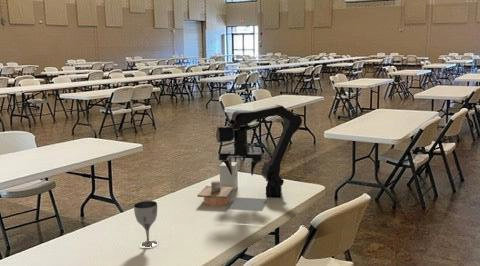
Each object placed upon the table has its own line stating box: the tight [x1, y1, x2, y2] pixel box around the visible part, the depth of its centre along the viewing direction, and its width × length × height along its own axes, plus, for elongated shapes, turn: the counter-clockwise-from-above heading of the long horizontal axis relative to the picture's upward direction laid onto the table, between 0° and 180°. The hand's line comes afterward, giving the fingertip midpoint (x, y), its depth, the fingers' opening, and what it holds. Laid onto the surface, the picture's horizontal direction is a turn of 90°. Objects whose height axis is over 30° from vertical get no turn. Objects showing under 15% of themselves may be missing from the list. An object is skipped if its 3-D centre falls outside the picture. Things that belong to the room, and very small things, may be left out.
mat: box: [226, 196, 269, 212], centre depth 201 cm, size 15×15×1 cm
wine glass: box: [133, 200, 158, 247], centre depth 163 cm, size 8×8×15 cm
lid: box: [196, 180, 234, 198], centre depth 204 cm, size 13×13×5 cm
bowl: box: [203, 195, 230, 207], centre depth 205 cm, size 11×11×4 cm
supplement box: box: [219, 161, 239, 192], centre depth 222 cm, size 7×7×13 cm
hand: (241, 174), depth 205 cm, fingers open, 9 cm apart
